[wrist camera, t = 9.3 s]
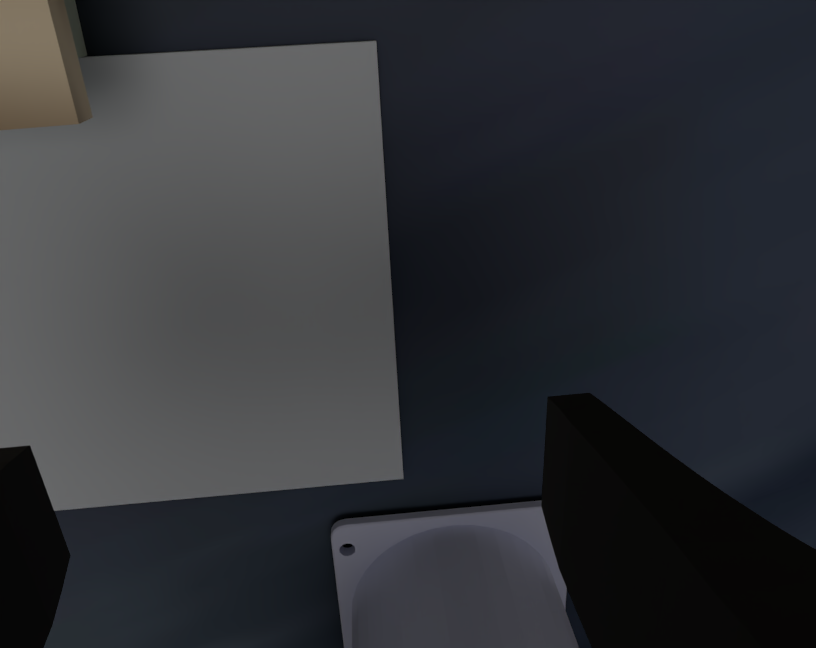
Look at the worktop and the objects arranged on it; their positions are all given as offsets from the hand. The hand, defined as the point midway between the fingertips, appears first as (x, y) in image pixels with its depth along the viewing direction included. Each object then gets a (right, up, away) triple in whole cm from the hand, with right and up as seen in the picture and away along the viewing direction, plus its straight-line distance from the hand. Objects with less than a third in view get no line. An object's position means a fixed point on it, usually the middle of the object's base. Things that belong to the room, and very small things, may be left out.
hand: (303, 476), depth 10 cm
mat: (-5, +3, +10) cm, 11 cm away
